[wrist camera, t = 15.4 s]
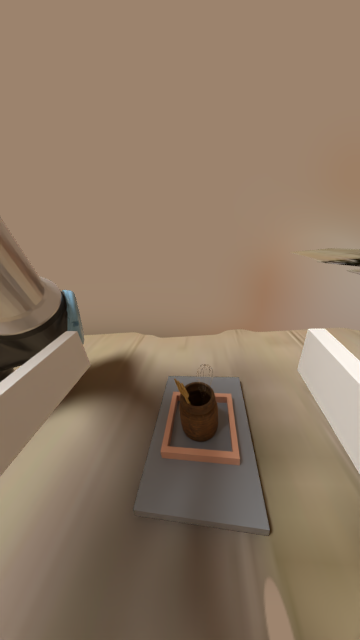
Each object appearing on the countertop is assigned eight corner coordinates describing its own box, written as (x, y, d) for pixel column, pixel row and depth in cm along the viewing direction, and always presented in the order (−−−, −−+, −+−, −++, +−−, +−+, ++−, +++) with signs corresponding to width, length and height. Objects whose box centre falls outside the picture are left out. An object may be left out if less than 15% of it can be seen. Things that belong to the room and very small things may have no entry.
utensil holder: (225, 422, 30) (226, 363, 25) (201, 454, 26) (196, 393, 21) (197, 403, 34) (192, 349, 29) (172, 428, 30) (162, 371, 25)
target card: (135, 515, 22) (130, 504, 21) (169, 381, 42) (167, 370, 41) (268, 535, 20) (271, 524, 19) (238, 382, 39) (239, 371, 38)
